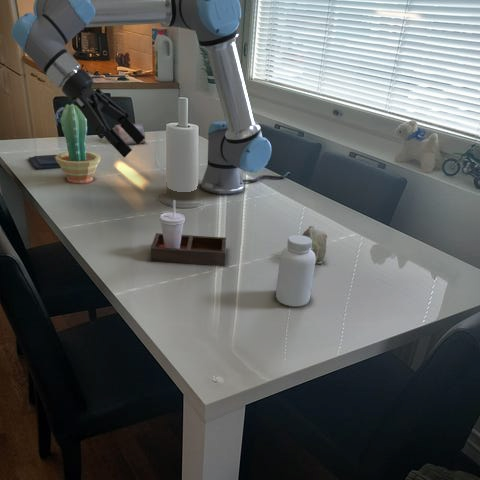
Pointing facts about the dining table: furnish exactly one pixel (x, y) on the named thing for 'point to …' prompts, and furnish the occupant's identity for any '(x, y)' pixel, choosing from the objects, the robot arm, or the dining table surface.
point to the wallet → (44, 162)
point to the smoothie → (172, 228)
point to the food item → (126, 137)
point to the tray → (190, 250)
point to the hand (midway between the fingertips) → (135, 147)
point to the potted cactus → (75, 146)
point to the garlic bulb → (317, 242)
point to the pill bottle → (296, 271)
